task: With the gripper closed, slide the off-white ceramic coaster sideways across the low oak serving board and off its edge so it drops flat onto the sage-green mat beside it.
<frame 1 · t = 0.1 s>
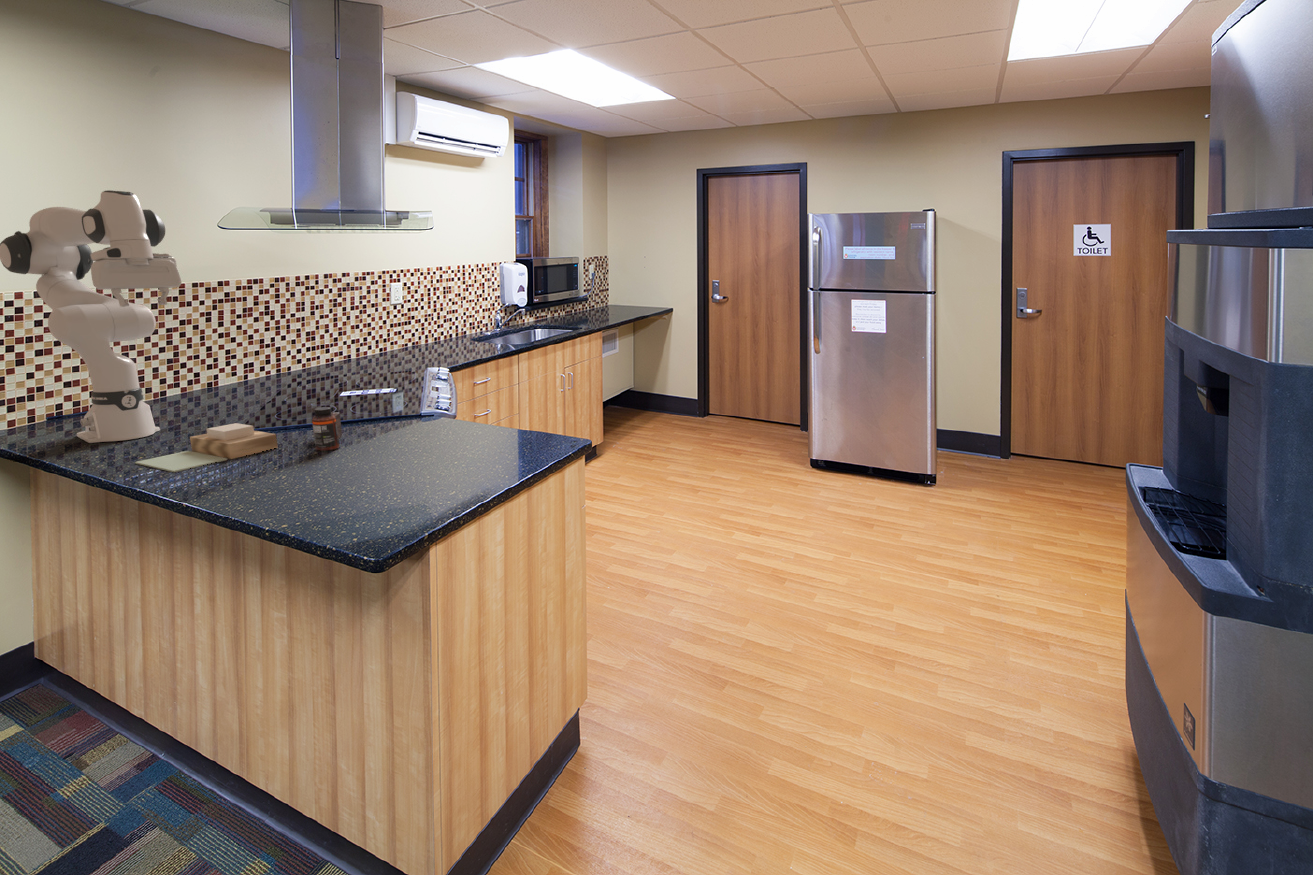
hand: (144, 305, 193), 39 cm above the worktop, tool pointing down, fingers open, 8 cm apart
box: (329, 439, 207), on the worktop
serving board: (235, 449, 196), on the worktop
supplement bottle: (327, 449, 196), on the worktop
mat: (181, 461, 184), on the worktop
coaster: (231, 435, 194), point 4 cm above the worktop, touching serving board
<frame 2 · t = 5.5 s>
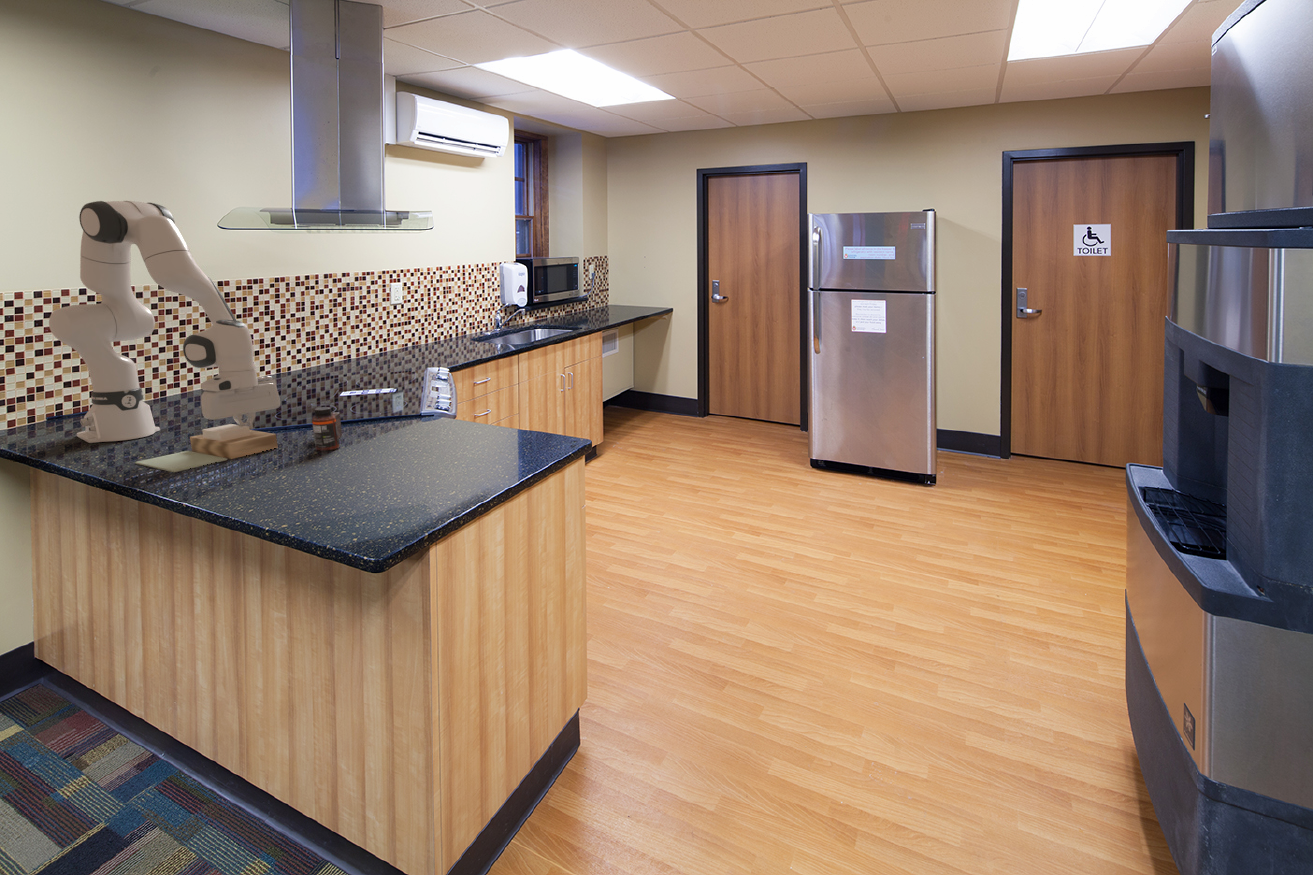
hand: (246, 429, 198), 5 cm above the worktop, tool pointing down, fingers closed
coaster: (227, 436, 193), point 4 cm above the worktop, touching serving board
everything else where it was.
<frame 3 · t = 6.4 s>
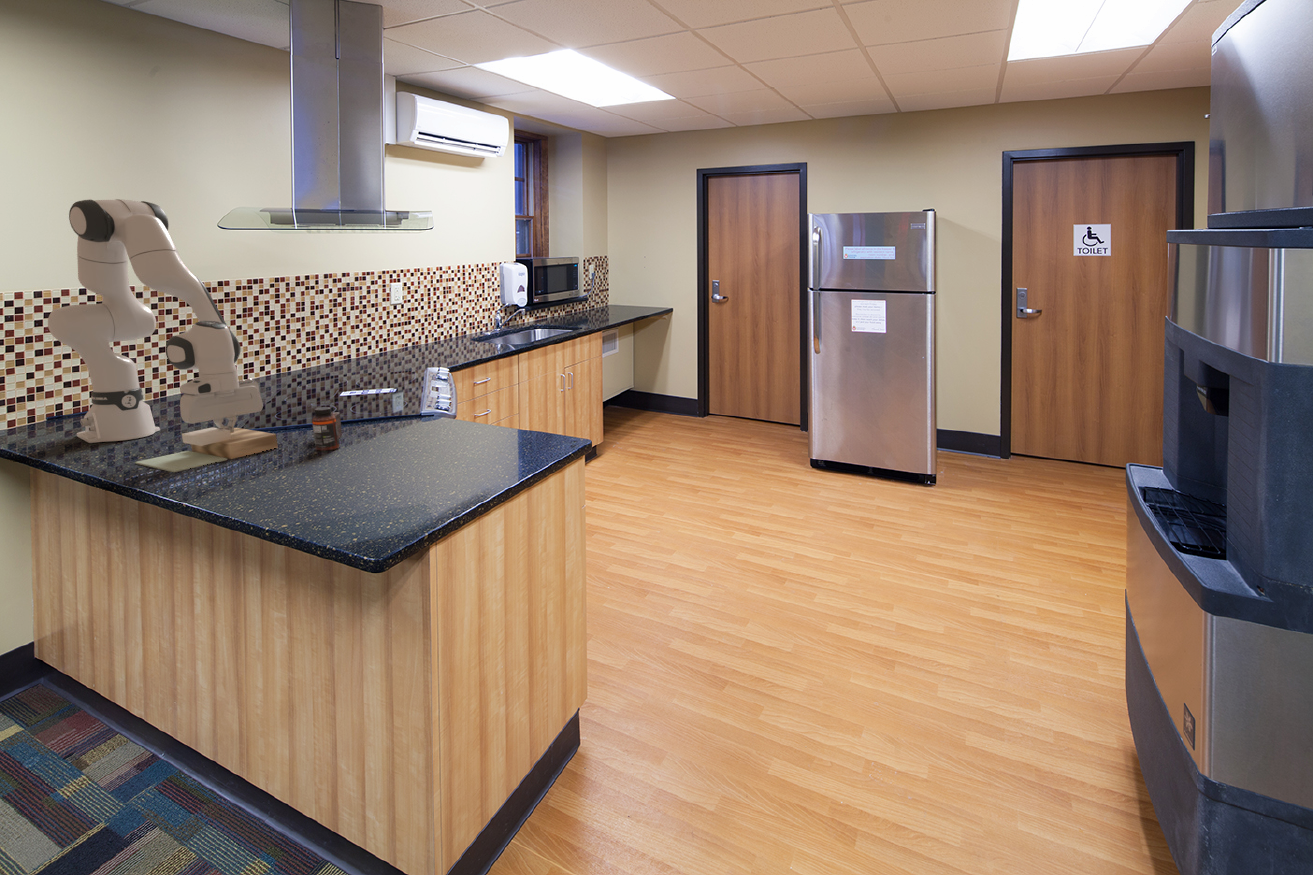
hand: (227, 433, 193), 5 cm above the worktop, tool pointing down, fingers closed
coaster: (207, 440, 189), point 4 cm above the worktop, touching gripper
everything else where it was.
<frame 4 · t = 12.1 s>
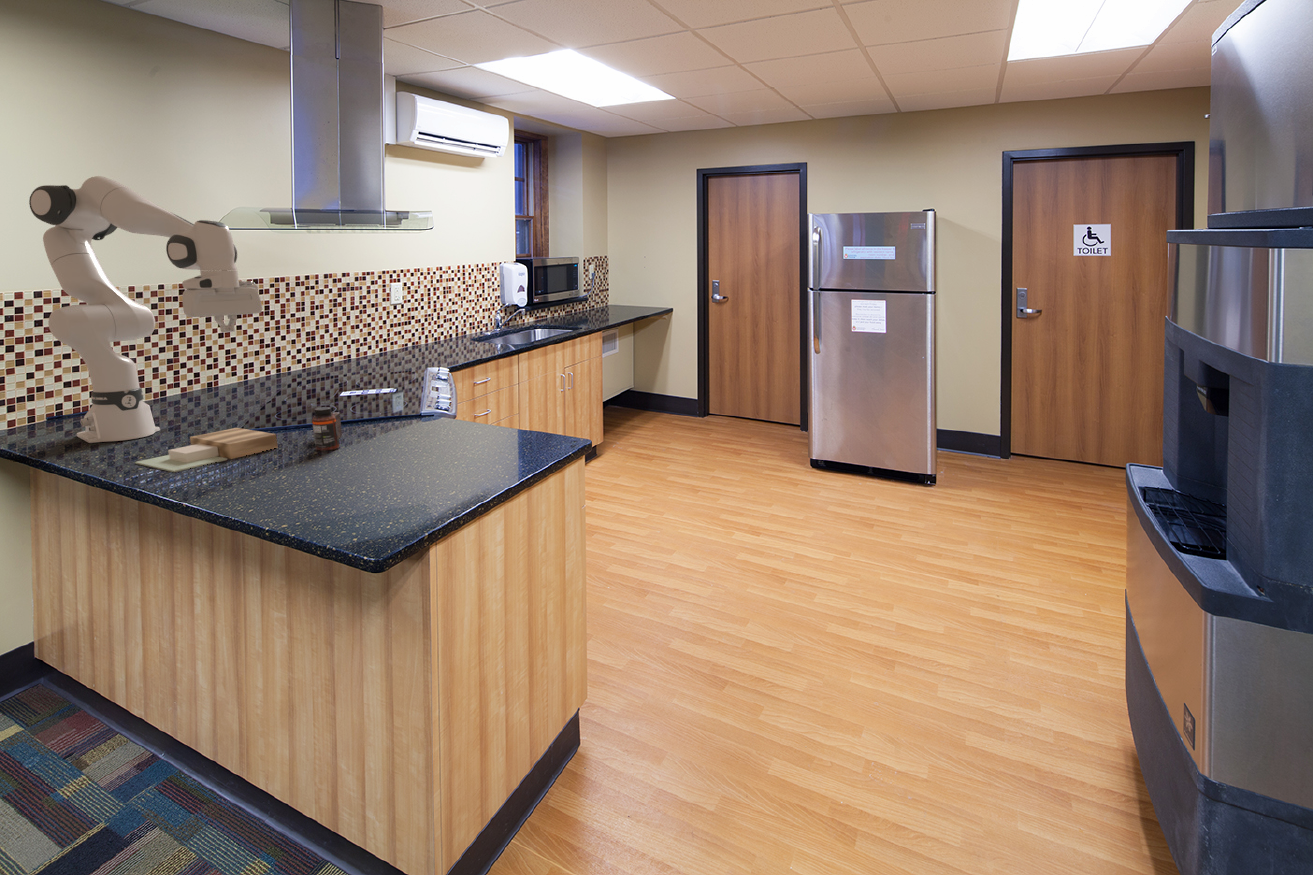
hand: (227, 331, 200), 31 cm above the worktop, tool pointing down, fingers closed
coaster: (194, 457, 186), resting on mat
everything else where it was.
at the end: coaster inside the target area (3.7 cm from its centre), resting on mat; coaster tilted 0° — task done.
